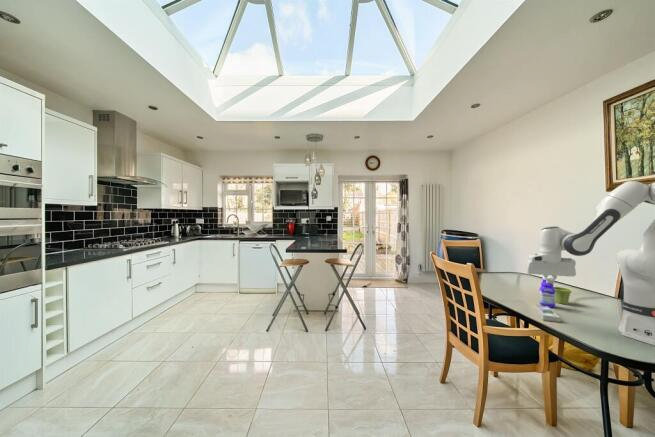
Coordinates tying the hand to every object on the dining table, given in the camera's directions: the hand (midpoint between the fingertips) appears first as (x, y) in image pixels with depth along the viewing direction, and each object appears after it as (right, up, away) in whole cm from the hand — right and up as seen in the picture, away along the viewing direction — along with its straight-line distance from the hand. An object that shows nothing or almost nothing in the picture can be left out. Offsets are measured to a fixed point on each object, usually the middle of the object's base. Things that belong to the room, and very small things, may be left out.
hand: (550, 283), depth 137 cm
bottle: (+14, -19, +19) cm, 30 cm away
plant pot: (+28, -18, +24) cm, 41 cm away
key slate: (+2, -17, +5) cm, 17 cm away
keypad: (+2, -19, +5) cm, 20 cm away
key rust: (+4, -18, +9) cm, 21 cm away
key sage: (0, -18, 0) cm, 18 cm away
